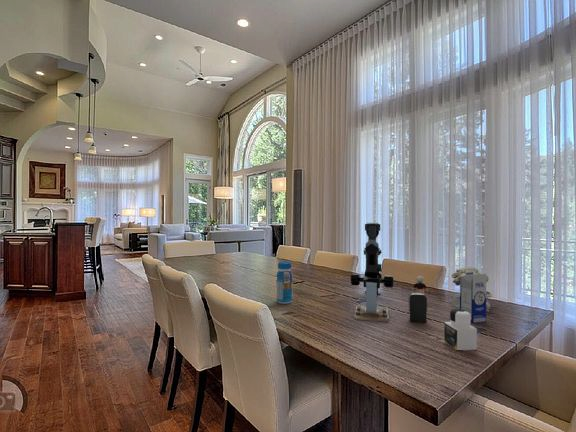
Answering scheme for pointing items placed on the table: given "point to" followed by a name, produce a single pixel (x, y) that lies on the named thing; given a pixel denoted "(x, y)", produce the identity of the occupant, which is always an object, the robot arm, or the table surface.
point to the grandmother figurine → (419, 285)
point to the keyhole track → (371, 314)
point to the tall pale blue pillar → (371, 297)
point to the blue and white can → (284, 283)
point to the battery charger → (417, 307)
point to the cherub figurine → (457, 281)
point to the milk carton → (473, 296)
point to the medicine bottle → (460, 331)
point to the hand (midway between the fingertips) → (371, 297)
